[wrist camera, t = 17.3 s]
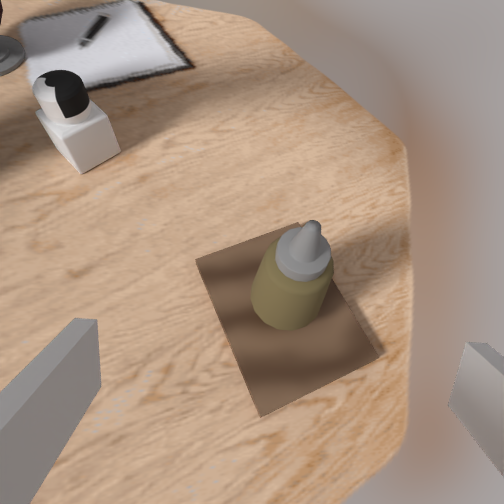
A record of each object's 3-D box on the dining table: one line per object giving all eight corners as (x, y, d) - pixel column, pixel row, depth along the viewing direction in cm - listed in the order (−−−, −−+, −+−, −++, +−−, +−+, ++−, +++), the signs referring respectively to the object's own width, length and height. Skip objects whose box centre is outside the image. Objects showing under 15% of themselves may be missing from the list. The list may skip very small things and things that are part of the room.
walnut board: (196, 264, 45) (195, 259, 44) (296, 227, 49) (298, 222, 48) (260, 417, 37) (261, 417, 36) (374, 360, 41) (379, 357, 39)
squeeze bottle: (240, 328, 40) (247, 257, 24) (258, 268, 44) (274, 173, 28) (307, 348, 40) (359, 289, 24) (320, 285, 43) (372, 198, 27)
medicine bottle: (96, 127, 56) (66, 56, 46) (122, 152, 54) (96, 83, 43) (56, 149, 53) (13, 78, 43) (81, 175, 51) (43, 108, 41)
